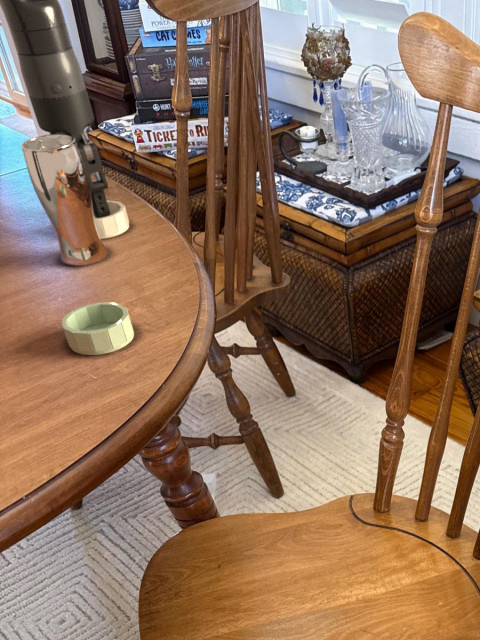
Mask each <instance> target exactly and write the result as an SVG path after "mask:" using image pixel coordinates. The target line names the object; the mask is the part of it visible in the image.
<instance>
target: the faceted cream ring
mask: <svg viewBox="0 0 480 640" xmlns="http://www.w3.org/2000/svg"><path fill="white" fill-rule="evenodd" d="M107 204H108V207H109V211H110V216H106V217H102V218H96V217H95V216H94V221H95V225H96V229H97V232H98V234H99V237H100V239H101V240H102V239H109V238H114V237H117V236H119V235H122V234H123V233H125V232H126V231H127V230H129V228H130V219H129V216H128V212H127V208H126V205H124V204H123V203H122V202H121V201H117V200H116V201H115V200H107Z"/></svg>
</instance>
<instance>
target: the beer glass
mask: <svg viewBox="0 0 480 640" xmlns="http://www.w3.org/2000/svg"><path fill="white" fill-rule="evenodd" d="M20 146H21V150H22V154H23V157H24V161H25V165H26V169H27V172H28V175H29V178H30V181H31V184H32V187H33V189H34V192H35V194H36V196H37V199H38V201H39V203H40V205H41V206H42V209H43V211H44V213H45V214H46V216H47V218H48V220H49V222H50V223H51V225H52V227H53V231H54V232H55V235H56V238H57V241H58V246H59V253H60V259H61V261H62V263H63V264H64V265H65V264H66V265H67V266H73V267H81V266H87V265H92V264H96V263H97V262H100V261H102V260H104V259H105V257H106V255H107V249H106V247H105V245H104V243H103V241H102V239H100V237H99V234H98V232H97V229H96V225H95V221H94V214H93V205H92V197H91V191H90V185H89V180H88V176H87V173H86V169H85V166H84V163H83V160H82V158H81V155H80V152H79V150H78V147H77V144H76V142H75V138H74V137H73V136H70V135H65V134H51V135H50V134H44V135H39V136H34V137H32V138H29V139H26V140H25V141H23V142H22V144H21V145H20Z"/></svg>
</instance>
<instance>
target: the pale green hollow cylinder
mask: <svg viewBox="0 0 480 640" xmlns="http://www.w3.org/2000/svg"><path fill="white" fill-rule="evenodd" d="M61 326H62V327H61V328H62V330H63V333H64V335H65V338H66V341H67V343H68V346H69V348H70V349H71V350H72V351H73V352H75V353H77V354H80V355H85V356H98V355H105V354H110V353H113V352H116V351H118V350H120V349H122V348H124V347H126V346H127V345H128V344H130V343H131V342H132V340H133V339H134V337H135V331H134V327H133V324H132V320H131V317H130V313H129V310H128V308H127V306H124V305H122V304H120V303H118V302H111V301H110V302H108V301H100V302H99V301H98V302H93V303H88V304H84V305H81V306H79V307H77V308H75V309H73V310H70V311H69V312H67V314H66V315H64V317H63V318H62V319H61Z"/></svg>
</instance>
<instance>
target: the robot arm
mask: <svg viewBox="0 0 480 640" xmlns="http://www.w3.org/2000/svg"><path fill="white" fill-rule="evenodd" d="M0 8H1V10H2V13H3V15H4V18H5V22H6V24H7V26H8V29H9V32H10V35H11V39H12V41H13V45H14V48H15V51H16V55H17V57H18V62H19V68H20V72H21V76H22V78H23V82H24V85H25V88H26V91H27V95H28V98H29V100H30V103H31V106H32V110H33V113H34V115H35V118H36V122H37V125H38V127H39V128H40V129H41V130H42V131H44V132H46V133H49V135H51V134H65V135H70V136H73V137H74V138H75V142H76V144H77V147H78V150H79V152H80V155H81V158H82V160H83V163H84V166H85V169H86V173H87V176H88V180H89V185H90V191H91V197H92V205H93V214H94V216H95V217H96V218H102V217H106V216H110V211H109V207H108V204H107V201H108V200H107V197H106V194H105V190H107V189H109V183H108V181H107V179H106V175H105V172H104V167H103V164H102V161H101V157H100V154H99V151H98V146H97V145H96V144H95V142H91V140H90V139H89V138H88V139H87V137H86V134H85V131H84V130H85V129H86V128H87V127H90V126H91V125H93V124H94V122H95V114H94V112H93V111H94V110H93V108H92V105H91V101H90V97H89V94H88V90H87V86H86V84H85V79H84V76H83V72H82V69H81V65H80V63H79V60H78V58H77V55H76V52H75V50H74V47H73V44H72V40H71V36H70V33H69V29H68V26H67V23H66V19H65V16H64V12H63V10H62V6H61V3H60V2H59V0H0ZM92 176H93V177H94V178H95V181H93V179H92Z"/></svg>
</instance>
